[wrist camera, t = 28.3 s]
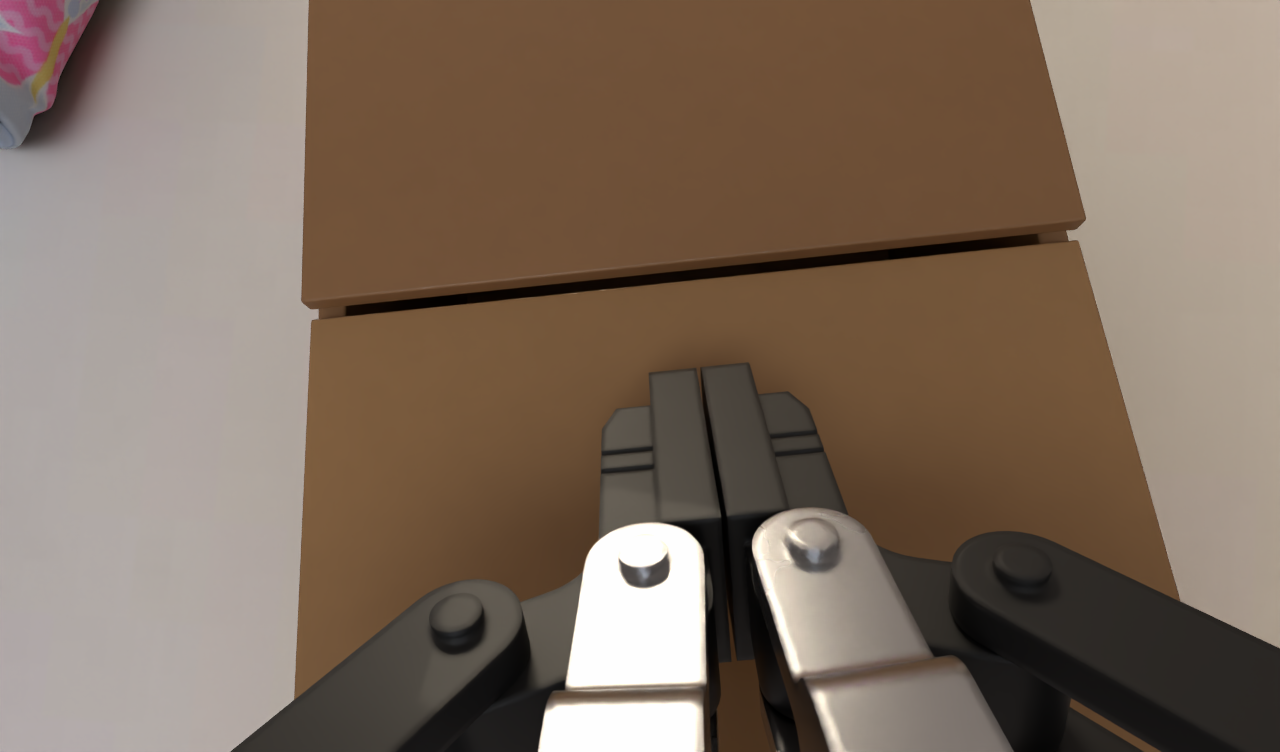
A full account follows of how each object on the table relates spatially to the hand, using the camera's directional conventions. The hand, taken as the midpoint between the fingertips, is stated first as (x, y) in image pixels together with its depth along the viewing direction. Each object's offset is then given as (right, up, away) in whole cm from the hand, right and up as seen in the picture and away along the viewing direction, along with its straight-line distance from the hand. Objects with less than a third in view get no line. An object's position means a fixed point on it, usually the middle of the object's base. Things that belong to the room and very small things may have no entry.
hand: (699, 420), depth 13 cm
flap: (0, -1, +1) cm, 2 cm away
